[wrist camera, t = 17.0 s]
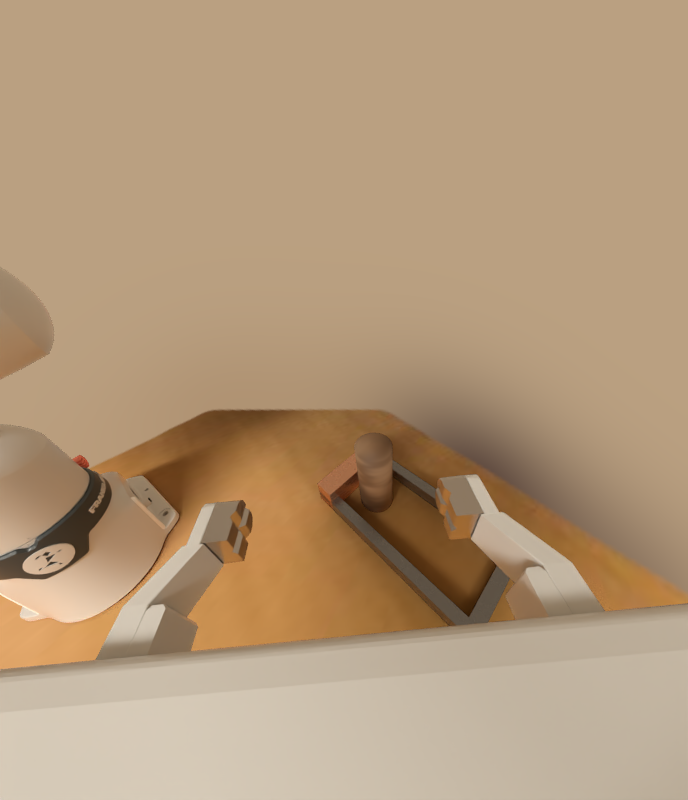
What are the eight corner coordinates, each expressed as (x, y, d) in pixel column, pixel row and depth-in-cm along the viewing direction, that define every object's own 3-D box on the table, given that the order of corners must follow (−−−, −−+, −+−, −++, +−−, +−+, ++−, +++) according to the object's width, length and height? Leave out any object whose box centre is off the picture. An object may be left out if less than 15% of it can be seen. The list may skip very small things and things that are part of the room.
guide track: (321, 497, 42) (317, 483, 40) (372, 453, 48) (371, 438, 46) (472, 649, 26) (480, 640, 24) (519, 555, 33) (530, 540, 30)
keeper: (354, 497, 41) (346, 447, 34) (375, 478, 44) (371, 427, 37) (377, 518, 38) (374, 468, 31) (398, 496, 41) (400, 444, 34)
